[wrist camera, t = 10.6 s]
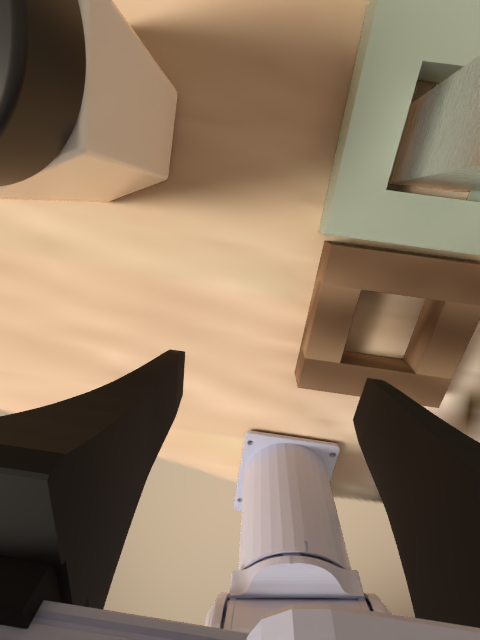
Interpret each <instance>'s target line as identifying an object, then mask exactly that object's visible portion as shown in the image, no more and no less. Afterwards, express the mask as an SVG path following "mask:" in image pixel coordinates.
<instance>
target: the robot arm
mask: <svg viewBox="0 0 480 640" xmlns="http://www.w3.org/2000/svg"><path fill="white" fill-rule="evenodd" d="M184 363H185V352H183V351H176V350H168V351H166V352H165V353H163V354H161V355H160V356H158V357H157V358H155V359H153V360H152V361H150V362H148V363H147V364H145V365H143V366H141V367H140V368H138V369H136V370H134V371H132V372H131V373H129V374H127V375H125V376H123V377H121V378H119V379H117V380H115V381H113V382H111V383H109V384H107V385H104V386H102V387H100V388H97V389H95V390H92V391H90V392H87V393H85V394H82V395H79V396H76V397H73V398H70V399H67V400H64V401H60V402H57V403H54V404H51V405H47V406H43V407H40V408H36V409H32V410H28V411H24V412H19V413H15V414H10V415H5V416H0V640H480V443H479V442H477V441H475V440H474V439H472V438H470V437H469V436H467V435H465V434H464V433H462V432H460V431H459V430H457V429H456V428H454V427H453V426H451V425H450V424H448V423H446V422H445V421H443V420H442V419H440V418H439V417H437V416H436V415H434V414H433V413H431V412H430V411H429V410H427V409H426V408H424V407H423V406H421V405H420V404H418V403H417V402H416V401H414V400H413V399H411V398H410V397H408V396H407V395H406V394H404V393H403V392H401V391H400V390H398V389H397V388H395V387H394V386H392V385H391V384H389V383H387V382H386V381H384V380H379V379H372V378H367V379H366V382H365V385H364V388H363V391H362V394H361V397H360V400H359V403H358V406H357V409H356V412H355V415H354V418H353V422H354V426H355V430H356V434H357V438H358V442H359V445H360V447H361V450H362V453H363V455H364V457H365V460H366V462H367V465H368V467H369V470H370V472H371V475H372V477H373V479H374V482H375V484H376V487H377V489H378V491H379V494H380V496H381V499H382V501H383V504H384V507H385V509H386V512H387V515H388V518H389V521H390V524H391V528H392V531H393V534H394V538H395V541H396V544H397V548H398V551H399V555H400V559H401V562H402V566H403V569H404V573H405V577H406V581H407V584H408V588H409V593H410V597H411V601H412V605H413V609H414V613H415V617H416V618H412V617H405V616H400V615H393V614H392V613H391V611H390V610H389V609H388V608H387V607H386V606H385V605H384V604H383V603H382V602H381V600H380V598H379V597H378V596H377V595H376V594H374V593H364V592H363V589H362V585H361V581H360V577H359V574H358V571H357V570H351V567H350V562H349V558H348V554H347V550H346V547H345V542H344V538H343V534H342V531H341V526H340V523H339V519H338V515H337V510H336V506H335V502H334V499H333V495H332V491H331V487H330V483H329V482H330V479H331V476H332V473H333V470H334V467H335V464H336V461H337V458H338V455H339V452H340V448H339V445H338V444H336V443H332V442H325V441H318V440H312V439H305V438H298V437H291V436H284V435H278V434H271V433H264V432H257V431H248V432H247V433H246V434H245V440H244V446H243V452H242V458H241V464H240V470H239V476H238V482H237V488H236V494H235V500H234V509H235V510H237V511H242V518H241V534H240V550H239V566H238V567H239V568H238V571H233V572H232V573H231V585H230V593H220V594H219V595H218V596H217V598H216V600H215V603H214V604H213V605H212V606H211V608H210V610H209V611H208V614H207V617H206V620H205V624H204V626H202V625H196V624H189V623H184V622H177V621H171V620H165V619H159V618H152V617H146V616H139V615H133V614H127V613H121V612H115V611H109V610H103V607H104V605H105V601H106V598H107V595H108V592H109V589H110V585H111V582H112V579H113V576H114V573H115V570H116V567H117V564H118V561H119V558H120V555H121V552H122V548H123V545H124V542H125V539H126V536H127V534H128V530H129V528H130V525H131V522H132V519H133V516H134V513H135V510H136V507H137V505H138V502H139V499H140V496H141V493H142V491H143V488H144V485H145V482H146V480H147V477H148V475H149V472H150V470H151V468H152V465H153V463H154V461H155V459H156V457H157V455H158V453H159V451H160V449H161V446H162V444H163V442H164V440H165V438H166V436H167V434H168V432H169V430H170V427H171V425H172V423H173V421H174V419H175V417H176V414H177V411H178V408H179V405H180V401H181V398H182V395H183V379H184ZM250 440H251V441H252V442H249V441H250ZM330 453H333V454H330Z"/></svg>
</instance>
